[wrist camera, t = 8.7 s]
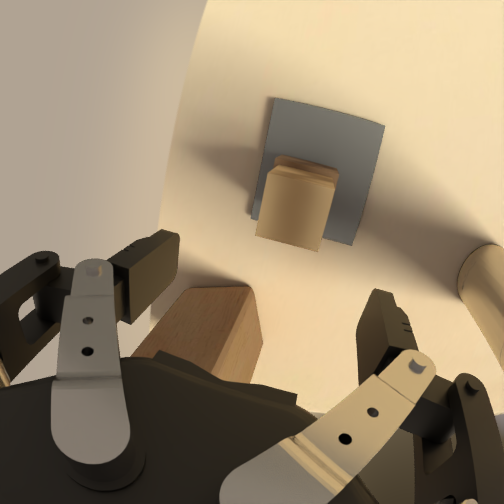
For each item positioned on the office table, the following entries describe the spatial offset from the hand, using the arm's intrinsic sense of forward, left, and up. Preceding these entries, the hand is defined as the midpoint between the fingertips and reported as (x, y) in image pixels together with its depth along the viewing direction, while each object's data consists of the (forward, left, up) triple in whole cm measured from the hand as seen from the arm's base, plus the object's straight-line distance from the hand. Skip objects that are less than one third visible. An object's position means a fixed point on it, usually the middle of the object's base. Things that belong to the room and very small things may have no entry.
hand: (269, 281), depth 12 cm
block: (+6, +20, -24) cm, 32 cm away
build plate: (-1, -2, -24) cm, 24 cm away
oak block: (0, 0, -18) cm, 18 cm away
